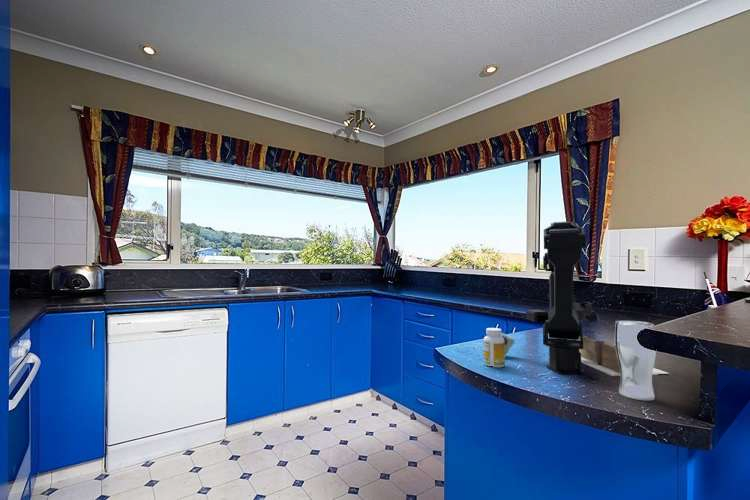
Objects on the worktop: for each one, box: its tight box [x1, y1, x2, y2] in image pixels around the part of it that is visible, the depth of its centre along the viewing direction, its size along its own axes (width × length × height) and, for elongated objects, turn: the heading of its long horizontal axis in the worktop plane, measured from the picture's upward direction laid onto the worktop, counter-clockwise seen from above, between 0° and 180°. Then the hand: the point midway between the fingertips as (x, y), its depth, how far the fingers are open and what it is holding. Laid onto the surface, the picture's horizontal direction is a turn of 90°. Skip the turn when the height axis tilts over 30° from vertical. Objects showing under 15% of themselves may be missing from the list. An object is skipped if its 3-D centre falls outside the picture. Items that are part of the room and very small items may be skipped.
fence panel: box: [578, 335, 598, 362], centre depth 100 cm, size 10×2×6 cm, turn 3°
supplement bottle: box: [483, 327, 506, 368], centre depth 96 cm, size 5×5×10 cm
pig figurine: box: [501, 332, 516, 356], centre depth 105 cm, size 8×4×7 cm, turn 82°
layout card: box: [581, 356, 670, 377], centre depth 95 cm, size 14×18×1 cm
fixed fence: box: [597, 340, 620, 373], centre depth 89 cm, size 2×11×7 cm, turn 3°
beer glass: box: [614, 320, 657, 402], centre depth 74 cm, size 7×7×15 cm
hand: (561, 345), depth 102 cm, fingers closed
